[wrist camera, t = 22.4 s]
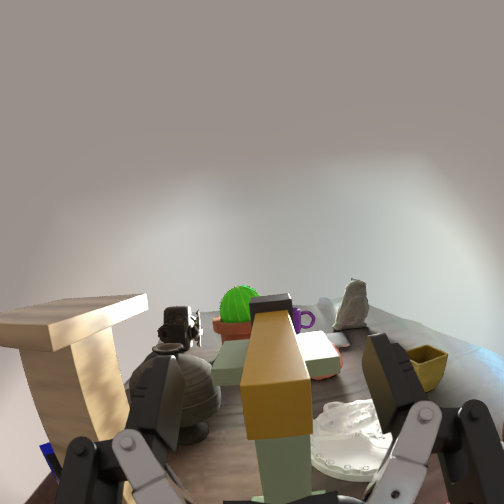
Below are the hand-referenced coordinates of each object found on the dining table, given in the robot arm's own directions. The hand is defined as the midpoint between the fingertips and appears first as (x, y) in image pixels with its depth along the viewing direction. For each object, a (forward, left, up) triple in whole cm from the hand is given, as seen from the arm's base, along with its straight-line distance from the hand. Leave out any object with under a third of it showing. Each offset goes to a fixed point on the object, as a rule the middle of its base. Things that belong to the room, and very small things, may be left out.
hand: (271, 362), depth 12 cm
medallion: (+33, +15, -30) cm, 47 cm away
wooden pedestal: (-7, +16, -30) cm, 35 cm away
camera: (+45, +107, -30) cm, 120 cm away
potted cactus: (+54, +75, -30) cm, 97 cm away
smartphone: (+78, +54, -30) cm, 100 cm away
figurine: (+97, +59, -30) cm, 118 cm away
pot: (+12, +43, -30) cm, 54 cm away
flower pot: (+54, +12, -30) cm, 63 cm away
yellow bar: (+7, +7, -4) cm, 11 cm away
